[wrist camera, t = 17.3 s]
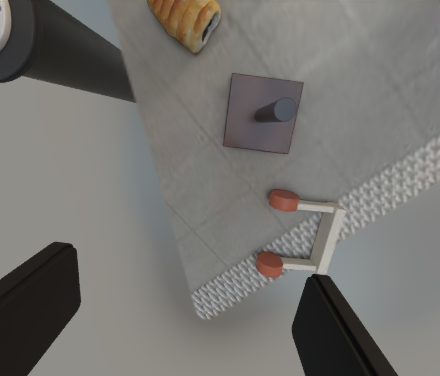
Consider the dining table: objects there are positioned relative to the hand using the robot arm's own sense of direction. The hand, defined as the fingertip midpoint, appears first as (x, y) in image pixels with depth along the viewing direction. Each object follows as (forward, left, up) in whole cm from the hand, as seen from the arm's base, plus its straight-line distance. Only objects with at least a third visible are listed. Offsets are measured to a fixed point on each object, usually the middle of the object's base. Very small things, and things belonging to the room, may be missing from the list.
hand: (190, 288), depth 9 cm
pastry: (-6, +19, -27) cm, 34 cm away
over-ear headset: (+9, -10, -24) cm, 28 cm away
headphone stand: (+6, +8, -27) cm, 28 cm away
